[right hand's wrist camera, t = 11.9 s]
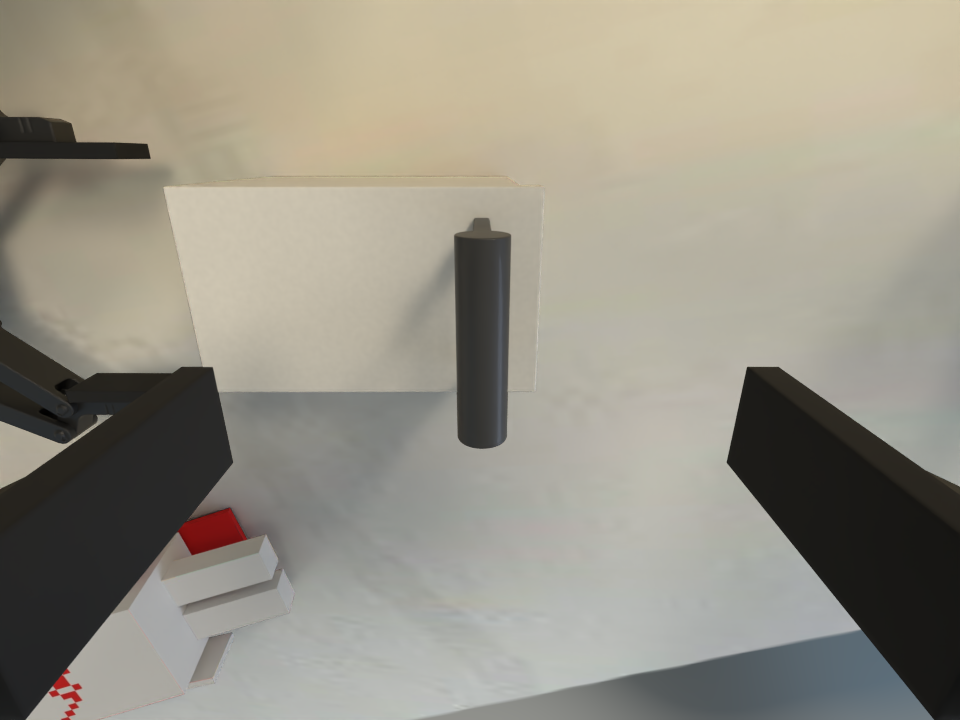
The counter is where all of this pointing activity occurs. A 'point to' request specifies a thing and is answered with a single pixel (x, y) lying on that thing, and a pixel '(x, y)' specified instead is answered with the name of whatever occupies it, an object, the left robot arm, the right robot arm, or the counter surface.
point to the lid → (367, 290)
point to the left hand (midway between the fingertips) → (164, 279)
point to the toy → (173, 622)
